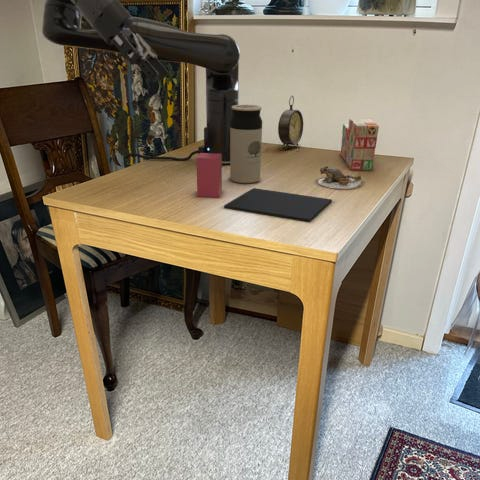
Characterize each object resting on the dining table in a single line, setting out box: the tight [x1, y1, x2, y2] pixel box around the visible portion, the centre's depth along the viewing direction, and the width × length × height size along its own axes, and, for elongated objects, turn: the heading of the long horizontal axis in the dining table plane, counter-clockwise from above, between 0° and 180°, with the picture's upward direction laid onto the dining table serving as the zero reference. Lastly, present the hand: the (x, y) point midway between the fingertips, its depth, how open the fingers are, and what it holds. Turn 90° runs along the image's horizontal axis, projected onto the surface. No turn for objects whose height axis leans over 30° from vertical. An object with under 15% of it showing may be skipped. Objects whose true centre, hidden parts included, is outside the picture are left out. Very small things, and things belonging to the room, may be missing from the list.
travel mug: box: [229, 104, 263, 184], centre depth 127 cm, size 8×8×18 cm
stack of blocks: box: [340, 117, 380, 171], centre depth 149 cm, size 21×6×12 cm, turn 179°
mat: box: [223, 187, 333, 223], centre depth 113 cm, size 20×16×1 cm
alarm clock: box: [277, 95, 304, 151], centre depth 165 cm, size 11×5×16 cm, turn 148°
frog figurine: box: [317, 165, 363, 190], centre depth 129 cm, size 12×12×4 cm
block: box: [195, 153, 223, 198], centre depth 117 cm, size 5×5×9 cm
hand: (160, 77), depth 107 cm, fingers open, 8 cm apart
